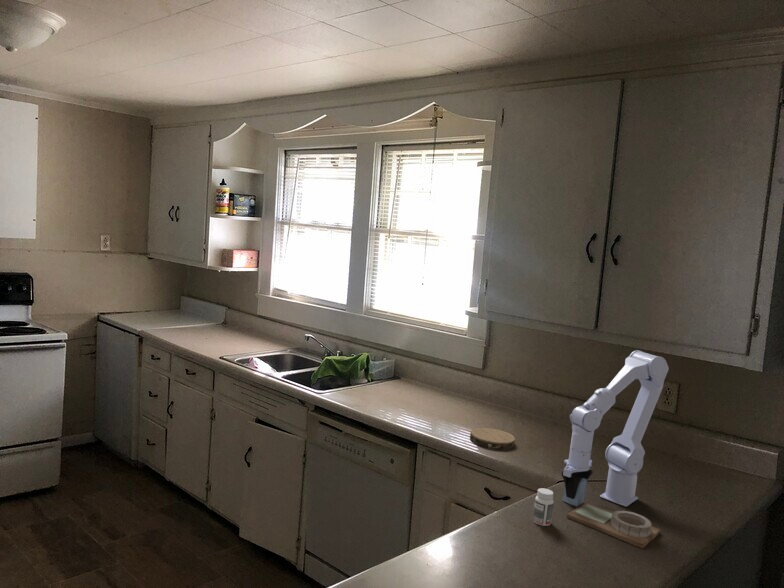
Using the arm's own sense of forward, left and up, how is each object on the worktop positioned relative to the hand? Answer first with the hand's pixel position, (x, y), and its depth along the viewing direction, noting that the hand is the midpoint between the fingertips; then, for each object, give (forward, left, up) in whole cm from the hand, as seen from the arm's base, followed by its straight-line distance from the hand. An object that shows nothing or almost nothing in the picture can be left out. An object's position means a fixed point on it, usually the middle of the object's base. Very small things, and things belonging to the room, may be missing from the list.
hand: (574, 495), depth 173 cm
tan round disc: (-24, -42, -2) cm, 49 cm away
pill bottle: (+20, +1, -2) cm, 20 cm away
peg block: (0, 0, -2) cm, 2 cm away
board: (+5, +14, -2) cm, 15 cm away
